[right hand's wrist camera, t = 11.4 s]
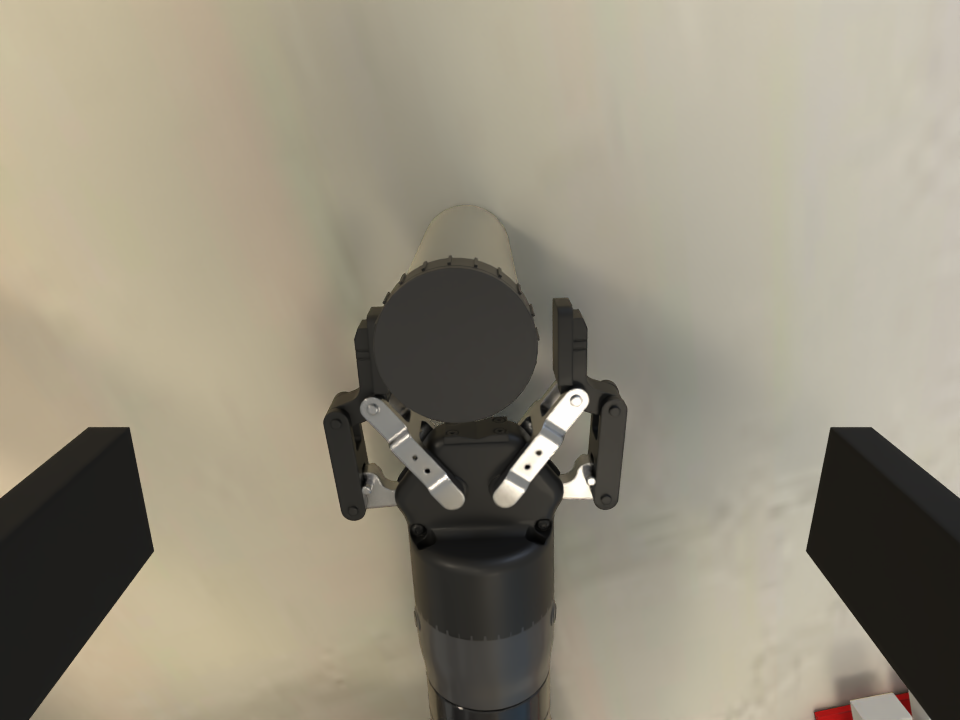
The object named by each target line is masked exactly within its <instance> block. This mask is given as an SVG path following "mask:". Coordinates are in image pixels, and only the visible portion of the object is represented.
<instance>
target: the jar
mask: <svg viewBox="0 0 960 720" xmlns="http://www.w3.org/2000/svg"><path fill="white" fill-rule="evenodd" d="M449 255H452V258H469V259H474V258H475V257H476V258H478V261H482V262H484V263H487V264H489V265H492V266H493V267H495V268H497V269H498V267H500V268H501V270H502V272H503V273H504V274H506V275H507V276H508V277H509V278H510V279H511V280H512V281H514V282H515V283H516V284H518V281H517V276H516V271H515V267H514V262H513V257H512V252H511V248H510V243H509V239H508V235H507V232H506V230H505V228H504V226H503V225H502V223H501V222H500V221H499V219H498V218H497V217H496V216H494V215H493V214H492V213H491V212H489V211H487V210H486V209H483V208H481V207H478V206H473V205H459V206H454V207H451V208H449V209H446V210H444V211H443V212H441V213H440V214H439V215H437V216H436V217H435V218H434V219H433V220H432V222H431V223H430V225H429V226H428V228H427V230H426V232H425V234H424V237H423V239H422V241H421V243H420V246H419V248H418V250H417V252H416V254H415V257H414V259H413V261H412V263H411V266H410V268H409V270H408V272H407V274H409V273H410V272H411V271H413V270H414V269H416V268H418V267H419V266H421V265H423V263H424V261H427V262H431V261H435V260H439V259H444V258H448V257H449Z"/></svg>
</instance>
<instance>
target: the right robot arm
mask: <svg viewBox="0 0 960 720" xmlns="http://www.w3.org/2000/svg"><path fill="white" fill-rule="evenodd" d="M153 552H154V549H153V544H152V539H151V533H150V528H149V523H148V518H147V513H146V508H145V503H144V498H143V493H142V488H141V483H140V478H139V473H138V468H137V463H136V458H135V453H134V448H133V443H132V438H131V433H130V428H129V427H88V428H87V429H86V430H85V431H83V432H82V433H81V434H80V435H78V436H77V437H76V438H75V439H73V440H72V441H71V442H70V443H68V444H67V445H66V446H65V447H63V448H62V449H61V450H60V451H59V452H57V453H56V454H55V455H54V456H52V457H51V458H50V459H49V460H47V461H46V462H45V463H44V464H42V465H41V466H40V467H39V468H37V469H36V470H35V471H34V472H32V473H31V474H30V475H29V476H28V477H26V478H25V479H24V480H23V481H21V482H20V483H19V484H18V485H16V486H15V487H14V488H13V489H11V490H10V491H9V492H8V493H6V494H5V495H4V496H3V497H1V498H0V720H29V719H30V718H31V716H32V715H33V714H34V712H35V711H36V710H37V708H38V707H39V705H40V704H41V703H42V701H43V700H44V699H45V697H46V696H47V695H48V693H49V692H50V691H51V689H52V688H53V687H54V685H55V684H56V683H57V681H58V680H59V679H60V677H61V676H62V674H63V673H64V672H65V670H66V669H67V668H68V666H69V665H70V664H71V662H72V661H73V660H74V658H75V657H76V656H77V654H78V653H79V652H80V650H81V649H82V648H83V646H84V645H85V643H86V642H87V641H88V639H89V638H90V637H91V635H92V634H93V633H94V631H95V630H96V629H97V627H98V626H99V625H100V623H101V622H102V621H103V619H104V618H105V617H106V615H107V614H108V612H109V611H110V610H111V608H112V607H113V606H114V604H115V603H116V602H117V600H118V599H119V598H120V596H121V595H122V594H123V592H124V591H125V590H126V588H127V587H128V586H129V584H130V583H131V581H132V580H133V579H134V577H135V576H136V575H137V573H138V572H139V571H140V569H141V568H142V567H143V565H144V564H145V563H146V561H147V560H148V559H149V557H150V556H151V554H152V553H153ZM806 552H807V553H808V555H809V556H810V557H811V559H812V560H813V561H814V563H815V564H816V565H817V567H818V568H819V569H820V571H821V572H822V573H823V575H824V576H825V577H826V579H827V580H828V581H829V583H830V584H831V586H832V587H833V588H834V590H835V591H836V592H837V594H838V595H839V596H840V598H841V599H842V600H843V602H844V603H845V604H846V606H847V607H848V608H849V610H850V611H851V612H852V614H853V615H854V617H855V618H856V619H857V621H858V622H859V623H860V625H861V626H862V627H863V629H864V630H865V631H866V633H867V634H868V635H869V637H870V638H871V639H872V641H873V642H874V643H875V645H876V646H877V648H878V649H879V650H880V652H881V653H882V654H883V656H884V657H885V658H886V660H887V661H888V662H889V664H890V665H891V666H892V668H893V669H894V670H895V672H896V673H897V674H898V676H899V677H900V679H901V680H902V681H903V683H904V684H905V685H906V687H907V688H908V689H909V691H910V692H911V693H912V695H913V696H914V697H915V699H916V700H917V701H918V703H919V704H920V705H921V707H922V708H923V710H924V711H925V712H926V714H927V715H928V716H929V718H930V719H931V720H960V498H959V497H957V496H956V495H955V494H954V493H952V492H951V491H950V490H949V489H947V488H946V487H945V486H944V485H942V484H941V483H940V482H939V481H937V480H936V479H935V478H934V477H932V476H931V475H930V474H929V473H928V472H926V471H925V470H924V469H923V468H921V467H920V466H919V465H918V464H916V463H915V462H914V461H913V460H911V459H910V458H909V457H908V456H906V455H905V454H904V453H903V452H901V451H900V450H899V449H898V448H897V447H895V446H894V445H893V444H892V443H890V442H889V441H888V440H887V439H885V438H884V437H883V436H882V435H880V434H879V433H878V432H877V431H875V430H874V429H873V428H872V427H831V428H830V433H829V438H828V443H827V448H826V453H825V458H824V463H823V468H822V473H821V478H820V483H819V488H818V493H817V498H816V503H815V508H814V513H813V518H812V523H811V528H810V533H809V539H808V544H807V549H806Z"/></svg>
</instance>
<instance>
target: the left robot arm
mask: <svg viewBox="0 0 960 720" xmlns="http://www.w3.org/2000/svg"><path fill="white" fill-rule="evenodd" d="M382 309H383V307H371V309H370V311H369V313H368V315H367V319H365V320H362V321H361V323H360V325H359V327H358V329H357V332H356V335H355V338H354V342H355V350H356V359H357V368H358V377H359V385H360V387H359V388H358V389H356V390H354V391H351V392H340V393H338V394H337V395H336V396H335V398H334V400H333V402H332V404H331V406H330V408H329V410H328V412H327V414H326V416H325V418H324V421H323V424H324V429H325V434H326V439H327V444H328V449H329V454H330V459H331V463H332V468H333V473H334V478H335V483H336V488H337V493H338V498H339V502H340V507H341V512H342V514H343V516H344V517H345V518H347V519H348V520H352V521H356V520H360V519H361V518H363V516H364V515H365V512H366V509H369V508H380V507H391V506H398V508H399V509H400V511H401V512H402V513H403V515H404V516H405V518H406V520H407V524H408V531H409V542H410V553H411V563H412V574H413V584H414V595H415V611H414V617H415V623H416V627H417V628H418V635H419V642H420V647H421V651H422V654H423V658H424V661H425V666H426V674H427V685H428V696H429V707H430V715H431V720H552V719H551V716H550V655H551V650H552V644H553V636H554V623H555V618H556V603H555V600H554V514H555V511H556V509H557V507H558V505H559V504H560V502H561V501H562V499H593V500H594V503H595V505H596V506H597V507H598V508H600V509H603V510H608V509H611V508H613V507H614V506H615V505H616V504H617V502H618V497H619V488H620V478H621V468H622V458H623V449H624V439H625V429H626V420H627V406H626V404H625V402H624V400H623V399H622V398H621V396H620V394H619V391H618V388H617V386H616V385H615V384H614V383H613V382H612V381H610V380H602V381H598V380H594V379H591V378H589V377H588V376H587V326H586V324H585V322H584V319H583V317H582V315H581V313H580V311H579V309H577V310H573V308H572V305H571V303H570V301H569V299H568V298H553V371H554V374H555V377H556V380H555V382H554V383H553V384H552V385H551V387H550V388H549V389H548V390H547V392H546V393H545V394H544V396H543V397H542V398H541V399H540V400H537V401H535V402H534V403H533V404H532V406H531V407H530V408H529V410H528V411H527V412H526V413H525V415H524V416H523V417H522V418H521V420H520V421H519V422H518V423H517V424H516V423H514V422H511V421H507V416H506V417H490V418H487V419H483V420H480V421H473V422H465V423H449V422H445V423H444V424H441V425H439V426H437V427H435V425H434V424H433V423H432V422H431V421H430V420H429V419H428V418H427V417H424V416H421V415H419V414H418V413H416V412H414V411H412V410H410V409H409V408H407V407H406V406H405V405H403V404H402V403H401V402H400V401H399V400H398V399H396V397H395V396H394V395H393V394H392V393H391V392H390V391H389V389H388V388H387V386H386V385H385V383H384V382H383V380H382V378H381V376H380V374H379V371H378V368H377V365H376V361H375V356H374V350H373V348H374V346H373V342H374V332H375V327H374V324H375V322H376V320H377V318H378V316H379V314H380V313H381V311H382ZM583 411H585V412H589V413H591V424H590V436H589V449H588V455H586V454H582V455H581V456H580V457H579V458H577V460H576V461H575V464H574V467H573V469H572V470H571V471H570V472H568V473H566V474H560V472H559V470H558V468H557V467H556V466H555V465H554V464H553V462H552V461H551V460H550V458H551V457H552V455H553V454H554V453H555V452H556V450H557V449H558V448H559V447H560V445H561V444H562V442H563V439H564V436H565V433H566V432H567V431H568V429H569V428H570V427H571V426H572V424H573V423H574V422H575V421H576V420H577V418H578V417H579V416H580V415H581V413H582V412H583ZM365 421H368V422H369V423H370V424H371V425H372V426H373V427H374V428H375V429H376V430H377V431H378V432H379V433H380V434H381V435H382V436H383V437H384V438H385V439H386V440H387V442H388V444H389V447H390V449H391V451H392V452H393V453H394V455H395V456H396V457H397V458H398V459H399V460H400V461H401V462H402V463H403V464H404V465H405V466H406V467H405V468H404V470H403V471H402V472H401V474H400V475H399V477H398V480H397V481H391V480H388V479H387V478H386V477H385V476H384V475H383V472H382V470H381V468H380V467H379V466H377V465H376V464H375V463H371V464H369V463H368V458H367V452H366V447H365V441H364V436H363V430H362V425H361V423H362V422H365Z"/></svg>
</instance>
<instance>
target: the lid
mask: <svg viewBox="0 0 960 720" xmlns="http://www.w3.org/2000/svg"><path fill="white" fill-rule="evenodd" d="M383 304H385V305H384V307H383V309H382V311H381V313H380V314H379V316H378V318H377V320H376V322H375V324H374V327H375V332H374V342H373V346H374V348H373V350H374V356H375V361H376V365H377V368H378V371H379V374H380V376H381V378H382V380H383V382H384V383H385V385H386V386H387V388H388V389H389V391H390V392H391V393H392V394H393V395H394V396H395V397H396V399H398V400H399V401H400V402H401V403H402V404H403V405H405V406H406V407H407V408H409V409H410V410H412V411H414V412H416V413H418V414H419V415H421V416H424V417H427V418H429V419H432V420H437V421H441V422H449V423H465V422H473V421H477V420H481V419H484V418H487V417H489V416H492V415H494V414H496V413H497V412H499V411H501V410H503V409H504V408H505V407H507V406H508V405H510V404H511V403H512V402H513V401H514V400H515V399H516V398H517V397H518V396H519V395H520V394H521V392H522V391H523V390H524V388H525V387H526V385H527V384H528V382H529V380H530V378H531V376H532V374H533V371H534V368H535V365H536V363H537V361H536V360H537V354H538V340H539V334H538V330H537V327H535V324H534V320H533V316H535V315H534V311H533V307H532V304H530V305H529V304H528V301H527V299H526V298H525V296H524V294H523V293H522V291H521V287H520V284H519V283H518V284H516V283H515V282H514V281H512V280H511V279H510V278H509V277H508V276H507V275H506V274H504V273H503V272H502V270H501V268H500V267H498V269H497V268H495V267H493V266H492V265H489V264H487V263H484V262H482V261H478V258H476V257H475V258H474V259H469V258H452V255H449V257H448V258H444V259H439V260H435V261H431V262H427V261H424V263H423V265H421V266H419V267H418V268H416V269H414V270H413V271H411V272H410V273H409V274H407V275H406V274H405V273H404V274H403V275H402V277H401V280H400V282H399V283H398V284H397V285H396V286H395V288H394V289H393V290H392V292H391V293H390V292H388V293H387V295H386V297H385V299H384V301H383Z"/></svg>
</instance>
